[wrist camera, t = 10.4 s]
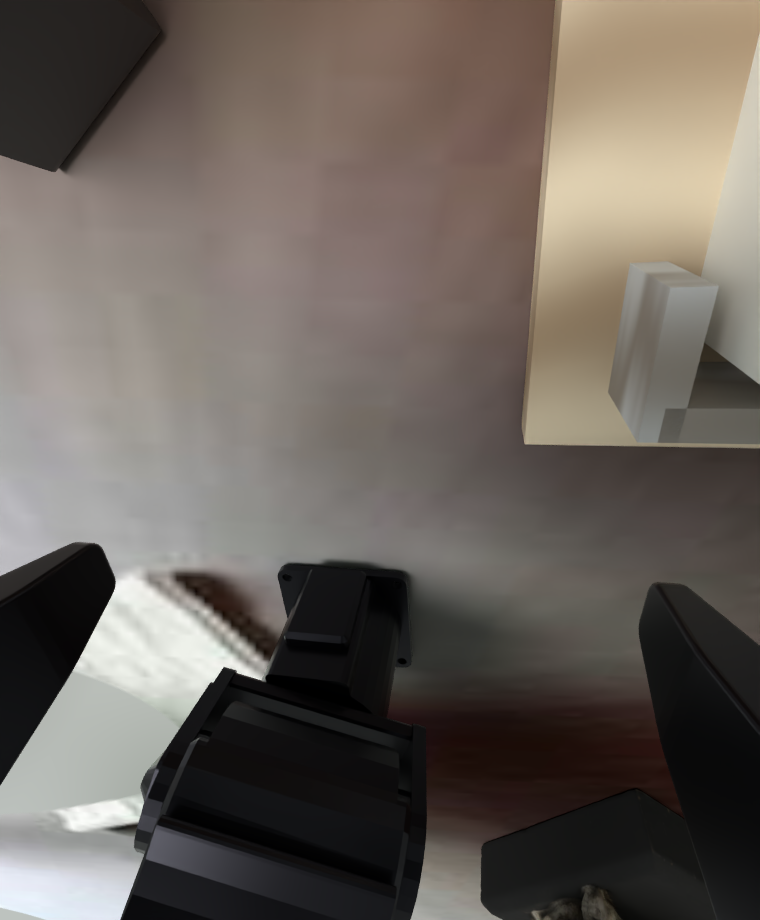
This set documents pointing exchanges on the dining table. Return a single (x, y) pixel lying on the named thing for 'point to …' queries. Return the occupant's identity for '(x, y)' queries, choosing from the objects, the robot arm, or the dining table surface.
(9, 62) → the door stopper
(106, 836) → the dining table surface
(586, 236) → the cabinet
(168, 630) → the dining table surface
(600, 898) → the coral
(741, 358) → the door
